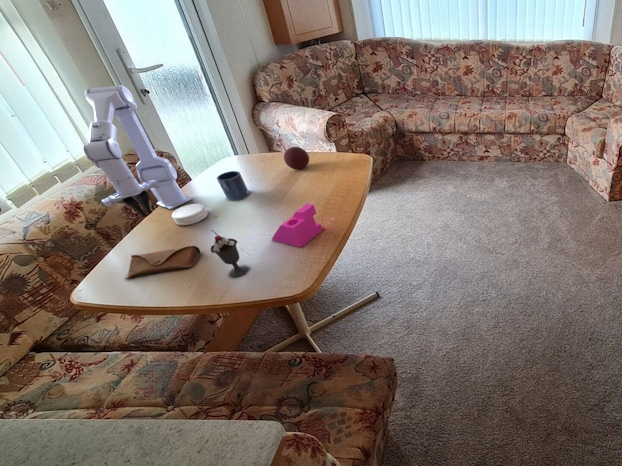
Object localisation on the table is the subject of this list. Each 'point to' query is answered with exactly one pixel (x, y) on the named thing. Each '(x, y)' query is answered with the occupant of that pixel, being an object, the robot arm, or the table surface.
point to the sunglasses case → (163, 261)
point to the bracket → (299, 227)
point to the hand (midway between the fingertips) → (146, 214)
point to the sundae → (228, 254)
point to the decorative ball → (296, 158)
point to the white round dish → (189, 214)
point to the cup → (233, 185)
